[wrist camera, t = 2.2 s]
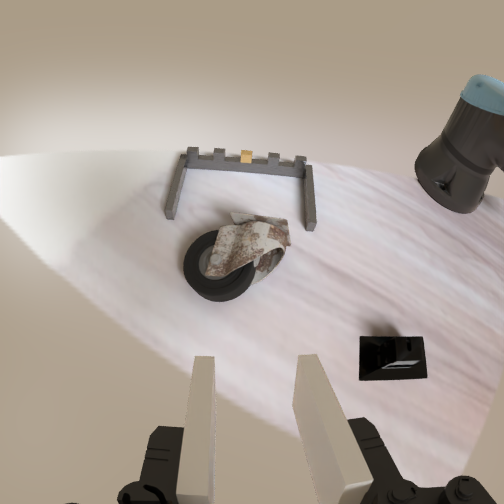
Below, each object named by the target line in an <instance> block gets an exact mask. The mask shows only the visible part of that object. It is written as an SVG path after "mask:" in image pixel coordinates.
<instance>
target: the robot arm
mask: <svg viewBox="0 0 504 504" xmlns="http://www.w3.org/2000/svg"><path fill="white" fill-rule="evenodd" d="M460 95H461V97H460V99H459V101H458V103H457V105H456V107H455V109H454V111H453V113H452V115H451V116H450V118H449V120H448V122H447V124H446V126H445V128H444V129H443V131H442V133H441V135H440V136H439V137H438V138H436V139H435V140H434V141H433V142H432V143H431V144H430V145H429V146H428V147H425V148H424V149H423V150H422V151H421V152H420V154H419V156H418V157H417V159H416V161H415V172H416V175H417V178H418V180H419V182H420V183H421V185H422V186H423V188H424V189H425V190H426V191H427V192H428V194H429V195H430V196H431V197H432V198H434V199H435V200H436V201H437V202H438V203H440V204H441V205H443V206H444V207H446V208H448V209H450V210H452V211H454V212H458V213H463V214H467V213H471V212H473V211H474V210H475V209H476V208H477V207H478V206H479V204H480V203H481V201H482V199H483V196H484V191H485V189H486V187H487V184H488V181H489V177H490V175H491V173H492V172H493V171H494V169H495V168H496V167H499V168H500V169H501V170H502V171H504V83H503V82H501V81H499V80H497V79H495V78H493V77H489V76H486V75H474V76H472V77H471V78H470V80H469V82H468V83H467V85H466V87H465V88H464V90H463V91H462V92H461V94H460ZM292 406H293V410H294V414H295V417H296V421H297V425H298V428H299V432H300V436H301V440H302V443H303V447H304V450H305V454H306V458H307V462H308V465H309V469H310V473H311V476H312V480H313V484H314V487H315V491H316V495H317V498H318V502H319V504H496V502H495V501H494V500H493V499H492V497H491V496H490V495H489V493H488V492H487V491H486V490H485V489H484V487H483V486H482V485H481V484H480V482H478V481H477V480H476V479H475V478H473V477H469V476H458V477H455V478H453V479H452V480H451V481H449V482H448V484H447V485H446V487H432V488H420V487H418V486H417V485H415V484H414V483H413V482H411V481H408V480H405V479H403V477H402V476H401V474H400V473H399V471H398V469H397V467H396V465H395V463H394V461H393V459H392V457H391V455H390V454H389V452H388V450H387V448H386V446H384V445H385V444H384V442H383V440H382V439H381V438H380V435H379V433H378V431H377V429H376V427H375V426H374V425H373V424H372V423H371V422H369V421H368V420H367V419H366V418H365V417H362V418H356V419H349V420H347V419H346V417H345V415H344V413H343V410H342V408H341V406H340V404H339V402H338V399H337V397H336V395H335V393H334V391H333V389H332V386H331V384H330V382H329V380H328V378H327V376H326V373H325V371H324V369H323V367H322V365H321V363H320V360H319V358H318V356H317V354H312V355H298V363H297V372H296V380H295V389H294V397H293V404H292ZM215 432H216V391H215V364H214V357H211V356H195V359H194V366H193V372H192V379H191V385H190V392H189V398H188V405H187V412H186V419H185V427H184V428H182V427H166V426H158V427H157V428H156V430H155V431H154V432H153V433H152V434H151V435H150V438H149V442H148V446H147V450H146V454H145V460H144V463H143V467H142V471H141V476H140V480H139V481H136V482H132V483H130V484H128V485H126V486H125V487H124V488H123V489H122V490H121V491H120V492H119V494H118V497H117V501H118V503H119V504H214V486H215V484H214V483H215ZM67 504H77V503H67Z"/></svg>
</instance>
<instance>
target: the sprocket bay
mask: <svg viewBox="0 0 504 504" xmlns="http://www.w3.org/2000/svg"><path fill="white" fill-rule="evenodd" d="M279 158H280V154H278V153H269V154H268V160H259V159H252V151H247V150H246V151H245V150H241V158H235V157H225V149H220V148H215V149H214V156H206V155H199V148H198V147H188V149H187V155H186V154H181V156H180V159H179V163H178V166H177V169H176V173H175V176H174V180H173V183H172V186H171V190H170V194H169V197H168V201H167V204H166V208H165V212H166V217H167V219H172V220H174V218H175V214H176V210H177V206H178V202H179V198H180V194H181V190H182V186H183V182H184V178H185V175H186V171H187V168H192V169H209V170H223V171H236V172H248V173H260V174H270V175H280V176H290V177H299V178H303V179H304V196H305V216H306V231H314V228H315V226H316V223H317V221H316V207H315V195H314V183H313V172H312V165H306V157H304V156H295V160H294V163H289V162H279Z"/></svg>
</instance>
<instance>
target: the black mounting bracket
mask: <svg viewBox="0 0 504 504" xmlns="http://www.w3.org/2000/svg"><path fill="white" fill-rule="evenodd" d="M422 378H427V367H426V357H425V349H424V341H423V337H377V336H360V351H359V380H360V381H372V380H404V379H422Z"/></svg>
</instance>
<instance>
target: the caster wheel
mask: <svg viewBox="0 0 504 504" xmlns="http://www.w3.org/2000/svg"><path fill="white" fill-rule="evenodd" d="M230 215H231V217H232V219H233V222H234V224H235V225H225V226H222V227H220V229H219V230H215V231H211V232H208V233H206V234H204V235H202V236H200V237H199V238H198V239H196V240H195V241H194V242H193V244H192V245H191V246H190V248H189V249H188V251H187V253H186V255H185V259H184V275H185V278H186V280H187V282H188V283H189V285H190V286H191V287H192V288H193V289H194V290H195V291H196V292H197V293H198V294H199V295H201V296H202V297H204V298H205V299H208V300H210V301H215V302H224V301H229V300H232V299H234V298H236V297H238V296H240V295H241V294H242V293H244V292H245V291H246V290H247V289H248V287H249V286H250V285H253V284H255V283H258V282H260V281H262V280H263V279H265V278H266V277H267V276H268V275H269V274H270V273H271V272H272V271H273V270H274V269H275V268H276V267H277V265H278V264H279V263H280V261H281V260H282V258H283V256H284V254H285V250H286V246H291V241H290V235H289V229H288V222H287V220H286V219H281V218H273V217H266V216H258V215H250V214H242V213H234V212H231V213H230Z"/></svg>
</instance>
